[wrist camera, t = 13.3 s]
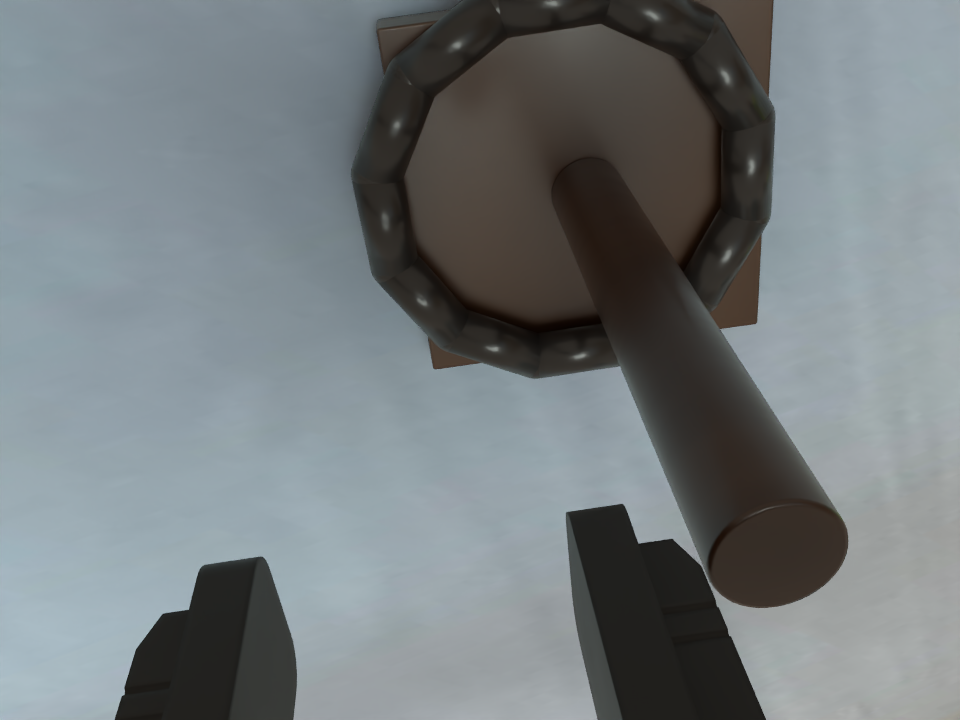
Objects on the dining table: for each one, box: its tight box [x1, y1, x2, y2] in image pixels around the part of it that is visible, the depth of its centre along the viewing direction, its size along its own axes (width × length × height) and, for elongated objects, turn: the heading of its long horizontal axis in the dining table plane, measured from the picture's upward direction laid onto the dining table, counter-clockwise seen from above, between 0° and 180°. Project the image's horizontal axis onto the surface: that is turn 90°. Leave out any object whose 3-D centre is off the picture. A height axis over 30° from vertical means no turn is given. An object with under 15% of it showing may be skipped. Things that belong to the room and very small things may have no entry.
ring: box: [351, 0, 775, 379], centre depth 22 cm, size 10×10×1 cm
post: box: [377, 0, 848, 608], centre depth 17 cm, size 9×9×14 cm
